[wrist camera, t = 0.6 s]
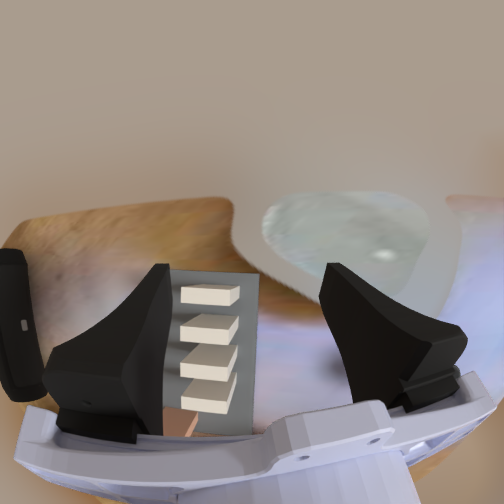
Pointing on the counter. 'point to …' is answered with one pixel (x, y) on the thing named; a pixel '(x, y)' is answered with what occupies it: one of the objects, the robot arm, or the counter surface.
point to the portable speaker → (18, 332)
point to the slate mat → (245, 337)
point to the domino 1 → (179, 422)
